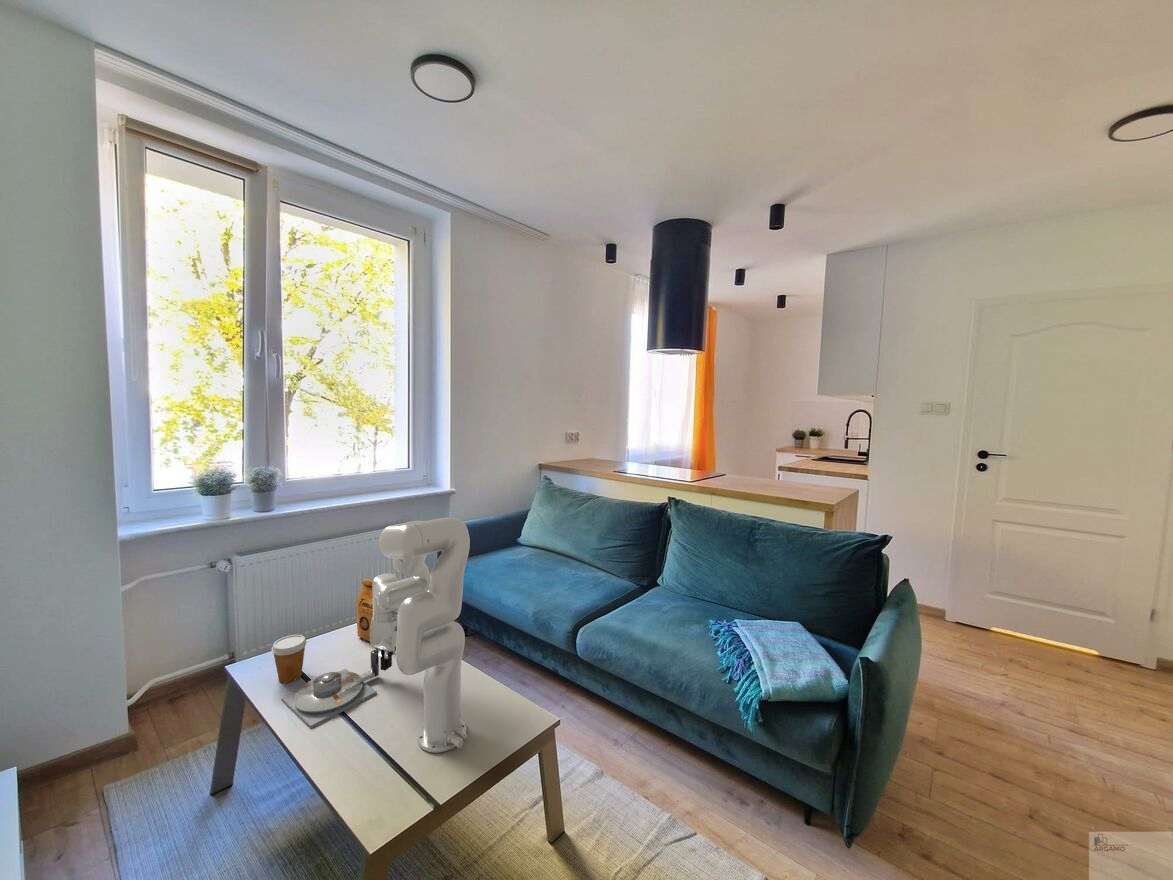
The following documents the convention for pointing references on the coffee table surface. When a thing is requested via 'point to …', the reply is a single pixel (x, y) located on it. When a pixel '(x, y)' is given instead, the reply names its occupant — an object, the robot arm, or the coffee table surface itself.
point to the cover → (327, 685)
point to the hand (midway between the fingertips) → (386, 667)
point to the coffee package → (365, 610)
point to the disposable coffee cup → (289, 657)
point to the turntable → (343, 697)
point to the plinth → (318, 718)
